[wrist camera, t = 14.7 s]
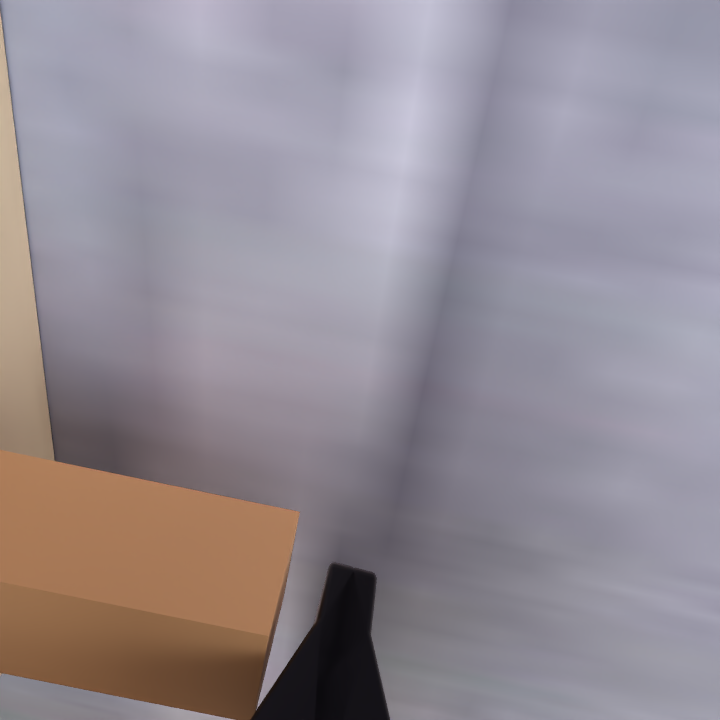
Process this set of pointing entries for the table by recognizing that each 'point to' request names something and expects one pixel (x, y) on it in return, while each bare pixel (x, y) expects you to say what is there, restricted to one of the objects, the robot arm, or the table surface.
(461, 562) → the table surface
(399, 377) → the table surface
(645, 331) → the table surface
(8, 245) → the dock
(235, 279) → the table surface
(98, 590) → the pin
